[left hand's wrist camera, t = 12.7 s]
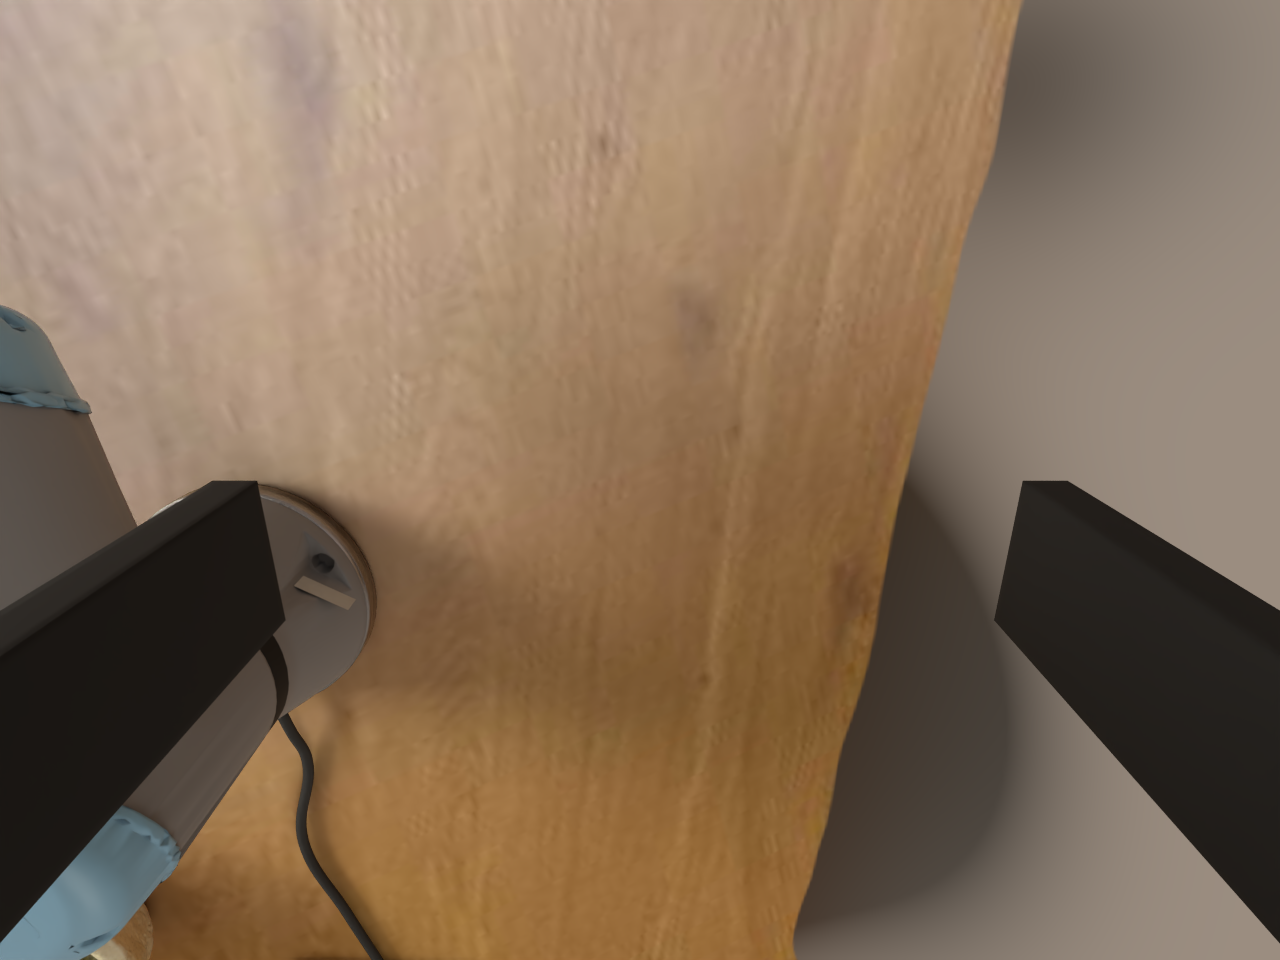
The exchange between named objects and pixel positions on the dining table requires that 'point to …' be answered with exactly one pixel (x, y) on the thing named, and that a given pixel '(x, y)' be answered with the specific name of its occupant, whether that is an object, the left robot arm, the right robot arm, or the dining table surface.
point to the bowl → (129, 940)
